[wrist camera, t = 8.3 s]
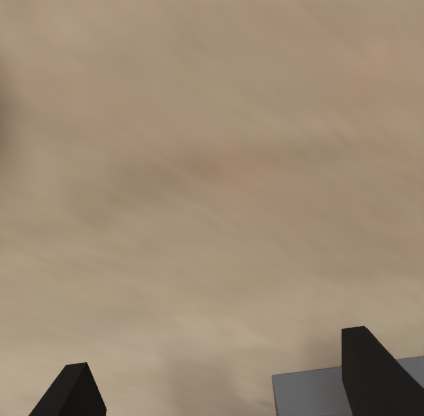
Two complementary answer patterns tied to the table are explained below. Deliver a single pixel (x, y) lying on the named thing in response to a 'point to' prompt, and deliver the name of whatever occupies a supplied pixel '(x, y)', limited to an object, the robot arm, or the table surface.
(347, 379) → the robot arm
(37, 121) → the table surface
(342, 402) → the charcoal plinth
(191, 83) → the table surface
